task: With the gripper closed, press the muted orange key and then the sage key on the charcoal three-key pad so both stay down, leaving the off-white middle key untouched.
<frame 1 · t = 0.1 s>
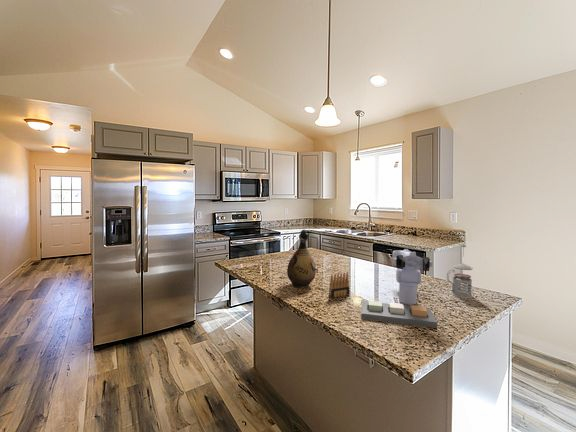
hand: (415, 265, 106), 22 cm above the countertop, tool horizontal, fingers open, 7 cm apart
keypad: (396, 318, 110), on the countertop
ceramic jug: (301, 285, 152), on the countertop
french press: (459, 295, 138), on the countertop
sage key: (375, 306, 112), point 3 cm above the countertop, slide at 0.0 cm
orange key: (418, 311, 108), point 3 cm above the countertop, slide at 0.0 cm
ammunition clip: (339, 298, 133), on the countertop
white key: (396, 309, 110), point 3 cm above the countertop, slide at 0.0 cm
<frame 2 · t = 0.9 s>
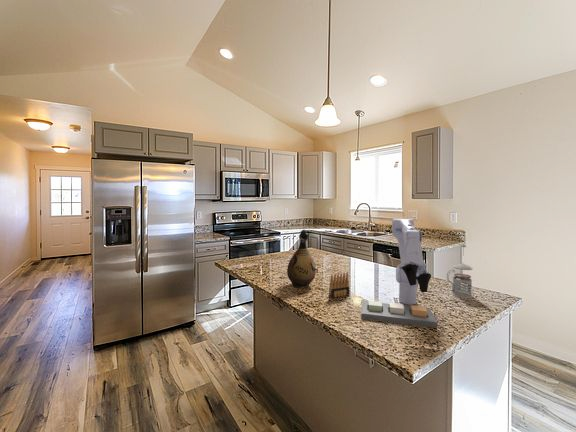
hand: (418, 288, 105), 13 cm above the countertop, tool tilted 40°, fingers open, 7 cm apart
nothing on the countertop moved.
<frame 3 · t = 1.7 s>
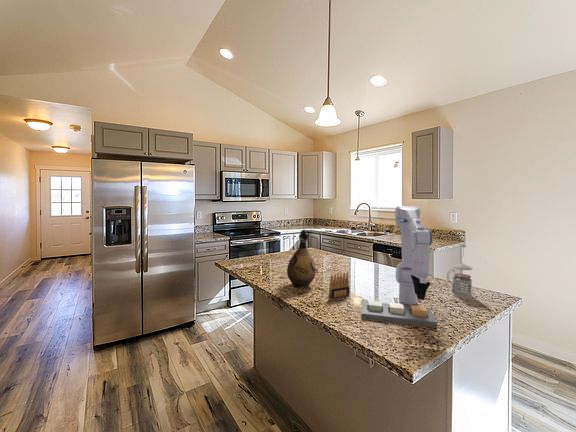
hand: (419, 296, 108), 9 cm above the countertop, tool pointing down, fingers open, 6 cm apart
nothing on the countertop moved.
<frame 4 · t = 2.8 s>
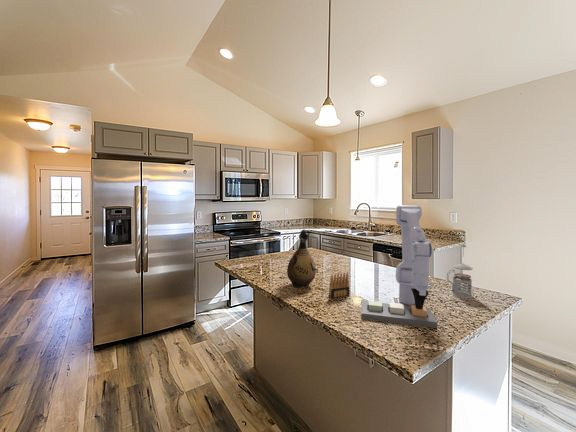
hand: (419, 308, 108), 5 cm above the countertop, tool pointing down, fingers closed, pressing on orange key
orange key: (418, 311, 108), point 3 cm above the countertop, slide at 0.1 cm, touching gripper
everything else where it was.
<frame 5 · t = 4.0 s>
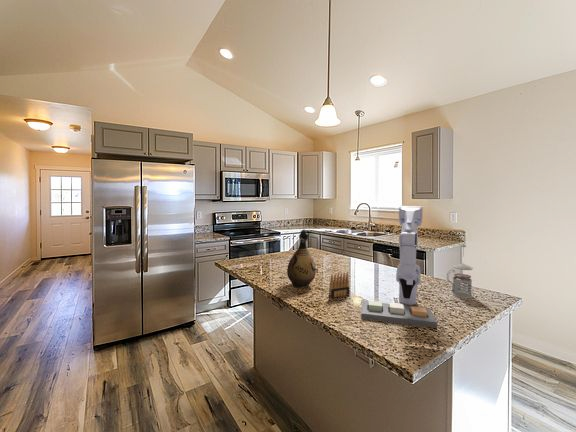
hand: (406, 298, 109), 8 cm above the countertop, tool pointing down, fingers closed
orange key: (418, 313, 108), point 3 cm above the countertop, slide at 0.5 cm
everything else where it was.
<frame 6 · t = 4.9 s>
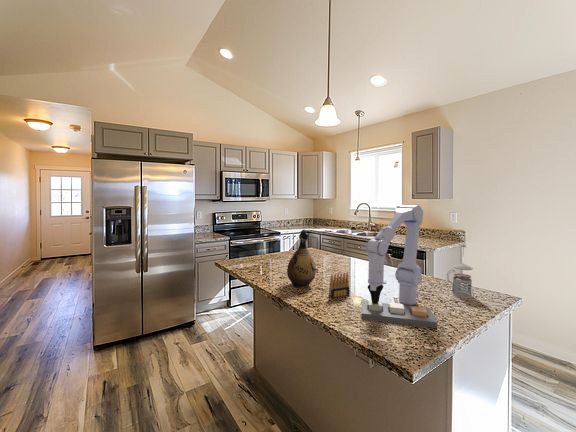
hand: (375, 303, 112), 5 cm above the countertop, tool pointing down, fingers closed, pressing on sage key
sage key: (375, 306, 112), point 3 cm above the countertop, slide at 0.0 cm, touching gripper
everything else where it was.
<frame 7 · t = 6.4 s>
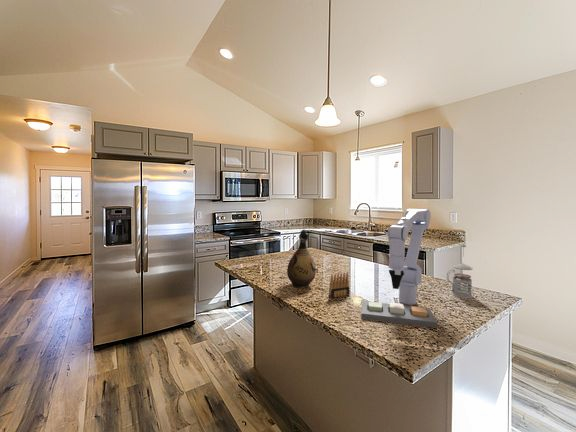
hand: (395, 288, 114), 10 cm above the countertop, tool pointing down, fingers closed
sage key: (375, 308, 112), point 3 cm above the countertop, slide at 0.5 cm
everything else where it was.
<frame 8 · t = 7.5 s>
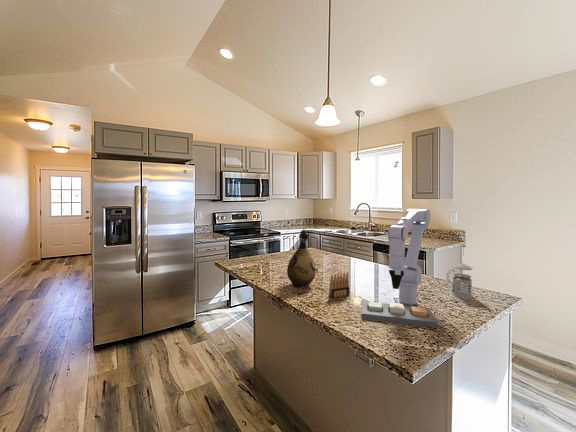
hand: (395, 288, 114), 10 cm above the countertop, tool pointing down, fingers closed
nothing on the countertop moved.
at the end: orange key slide at 0.5 cm; sage key slide at 0.5 cm; white key slide at 0.0 cm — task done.
